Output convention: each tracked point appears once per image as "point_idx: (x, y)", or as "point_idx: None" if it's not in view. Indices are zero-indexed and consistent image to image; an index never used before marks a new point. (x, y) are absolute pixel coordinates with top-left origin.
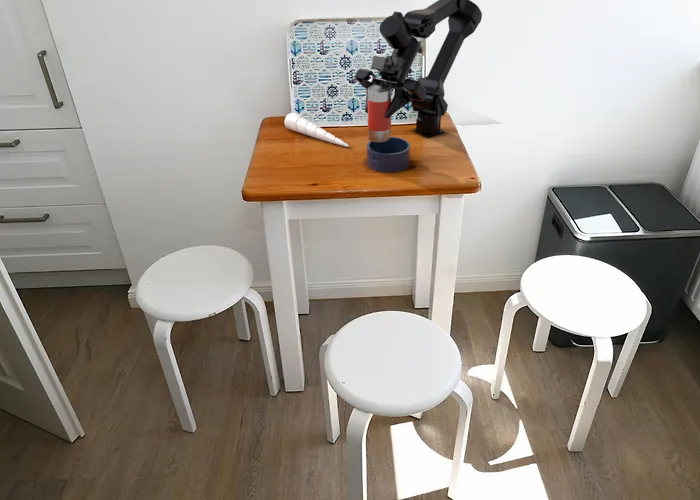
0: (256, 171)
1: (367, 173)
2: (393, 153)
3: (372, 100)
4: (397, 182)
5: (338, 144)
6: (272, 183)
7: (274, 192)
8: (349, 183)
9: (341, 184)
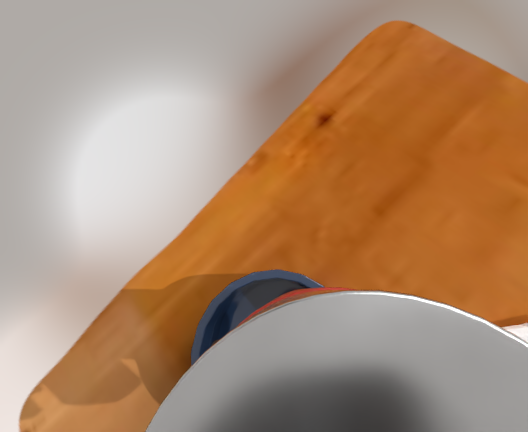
0: (481, 66)
1: (274, 246)
2: (213, 311)
3: (314, 291)
4: (181, 264)
5: (504, 327)
6: (396, 63)
7: (356, 48)
8: (269, 178)
9: (279, 162)
